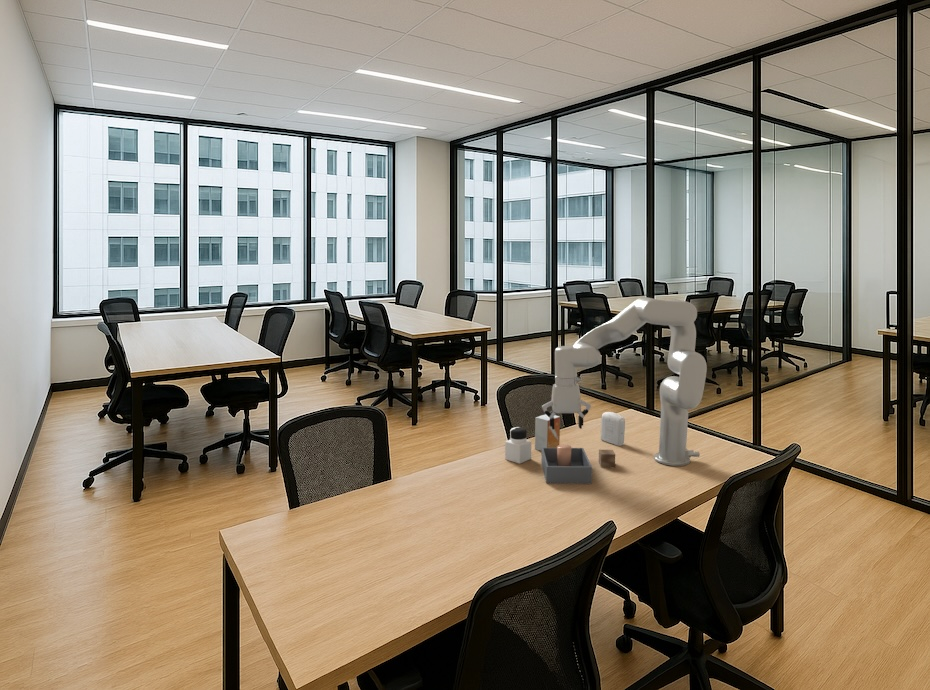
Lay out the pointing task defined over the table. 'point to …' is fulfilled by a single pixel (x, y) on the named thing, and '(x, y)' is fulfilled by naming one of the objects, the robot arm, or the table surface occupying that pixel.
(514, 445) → the medicine bottle
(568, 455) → the pink rounded block
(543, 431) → the small box
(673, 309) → the robot arm
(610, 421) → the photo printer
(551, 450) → the tote
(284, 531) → the table surface
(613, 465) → the walnut cube
